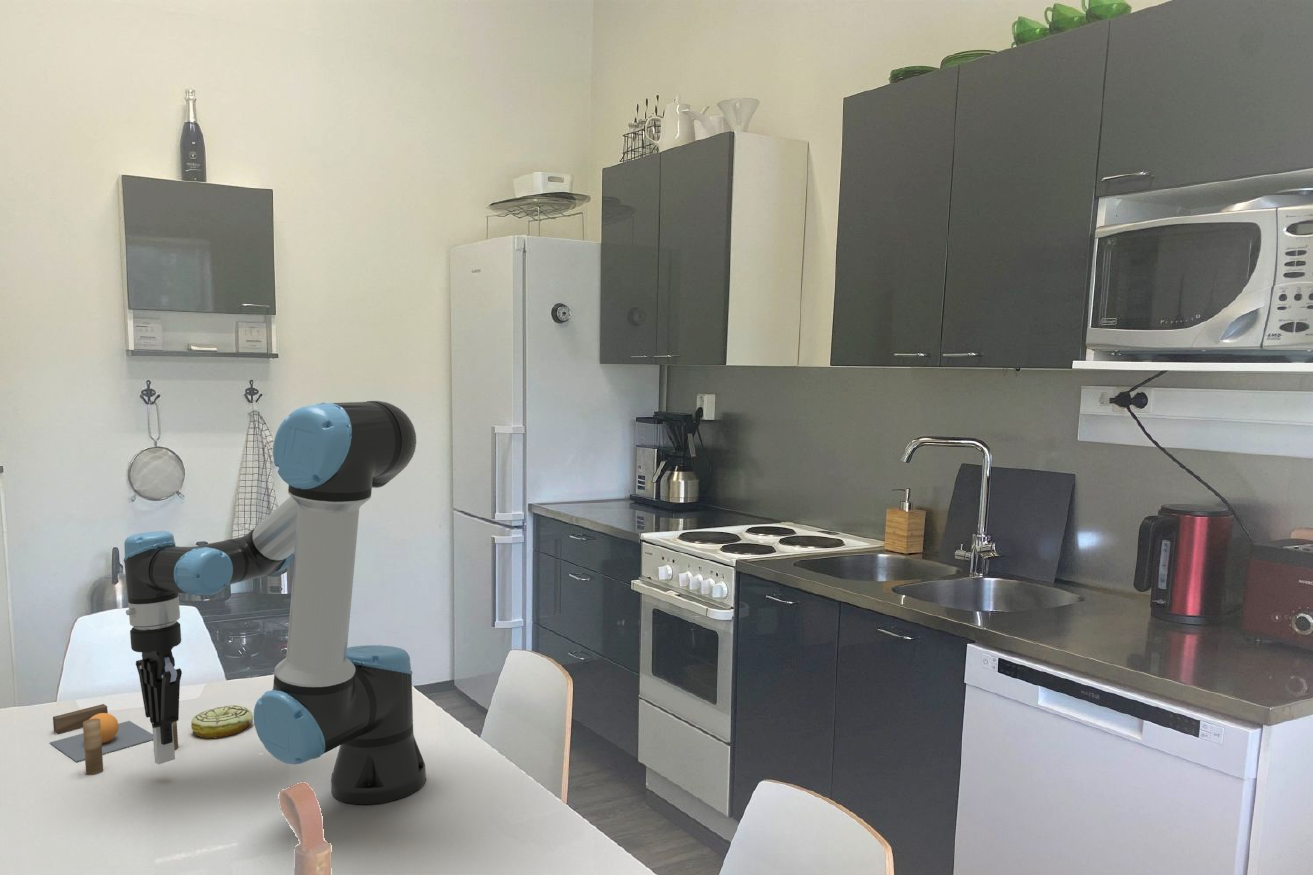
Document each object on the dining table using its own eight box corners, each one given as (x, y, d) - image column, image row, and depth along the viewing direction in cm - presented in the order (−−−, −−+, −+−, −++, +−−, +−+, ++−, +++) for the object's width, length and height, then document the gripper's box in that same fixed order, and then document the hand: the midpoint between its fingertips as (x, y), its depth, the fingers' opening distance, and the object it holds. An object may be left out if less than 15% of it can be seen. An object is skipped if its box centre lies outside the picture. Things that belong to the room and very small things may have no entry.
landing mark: (158, 738, 180) (158, 737, 180) (76, 762, 170) (76, 761, 170) (129, 721, 189) (129, 720, 189) (49, 743, 179) (49, 742, 179)
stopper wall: (108, 720, 190) (107, 706, 190) (57, 734, 183) (56, 719, 183) (104, 718, 191) (103, 703, 191) (53, 731, 185) (52, 716, 184)
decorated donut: (264, 725, 187) (263, 706, 186) (215, 744, 177) (214, 725, 177) (229, 716, 192) (229, 698, 191) (180, 735, 182) (179, 715, 182)
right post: (180, 748, 175) (177, 700, 175) (165, 752, 173) (163, 704, 173) (174, 744, 177) (172, 697, 176) (160, 749, 175) (157, 701, 174)
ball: (108, 720, 183) (118, 744, 181) (76, 728, 179) (86, 753, 176) (116, 703, 180) (126, 728, 178) (84, 711, 176) (93, 737, 174)
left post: (105, 770, 166) (102, 720, 165) (89, 775, 164) (85, 725, 163) (100, 767, 167) (96, 717, 167) (83, 772, 165) (80, 721, 165)
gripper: (116, 623, 161) (126, 759, 163) (147, 634, 153) (157, 777, 154) (162, 614, 167) (171, 745, 168) (194, 624, 158) (204, 762, 160)
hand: (165, 760), depth 161 cm, fingers closed
